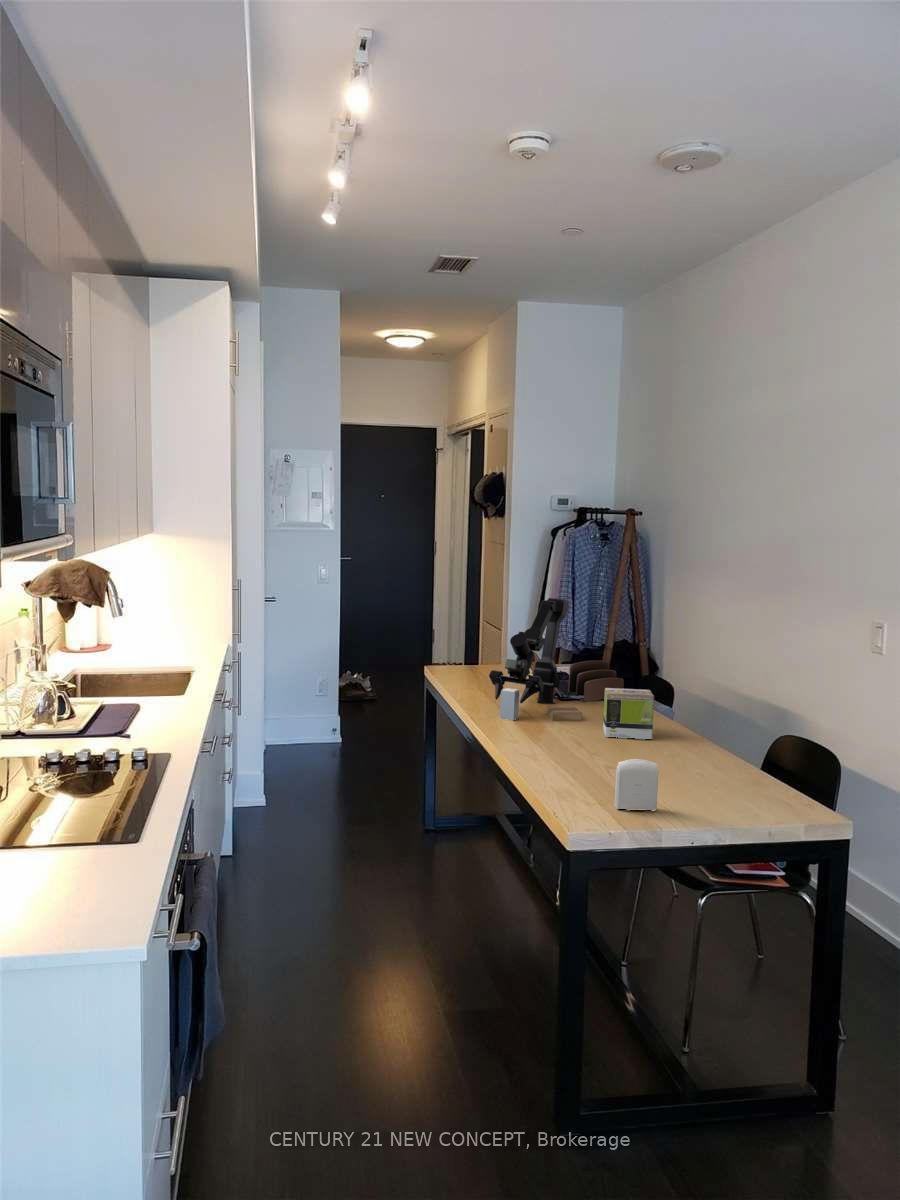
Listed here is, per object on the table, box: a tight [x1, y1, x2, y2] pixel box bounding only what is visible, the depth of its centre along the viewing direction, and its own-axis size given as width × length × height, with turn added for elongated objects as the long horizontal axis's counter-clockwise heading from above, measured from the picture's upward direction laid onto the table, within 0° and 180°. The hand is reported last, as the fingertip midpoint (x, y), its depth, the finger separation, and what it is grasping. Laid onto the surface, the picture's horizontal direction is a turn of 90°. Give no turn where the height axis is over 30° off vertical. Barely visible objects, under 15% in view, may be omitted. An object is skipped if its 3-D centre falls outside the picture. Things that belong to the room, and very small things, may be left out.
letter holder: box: [567, 659, 625, 703], centre depth 343 cm, size 10×20×14 cm, turn 121°
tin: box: [499, 687, 520, 721], centre depth 303 cm, size 4×5×10 cm
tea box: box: [602, 688, 655, 740], centre depth 287 cm, size 15×10×15 cm, turn 84°
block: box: [545, 705, 583, 723], centre depth 308 cm, size 10×10×4 cm
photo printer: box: [614, 758, 660, 810], centre depth 216 cm, size 10×4×12 cm, turn 88°
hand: (508, 700), depth 302 cm, fingers open, 9 cm apart
